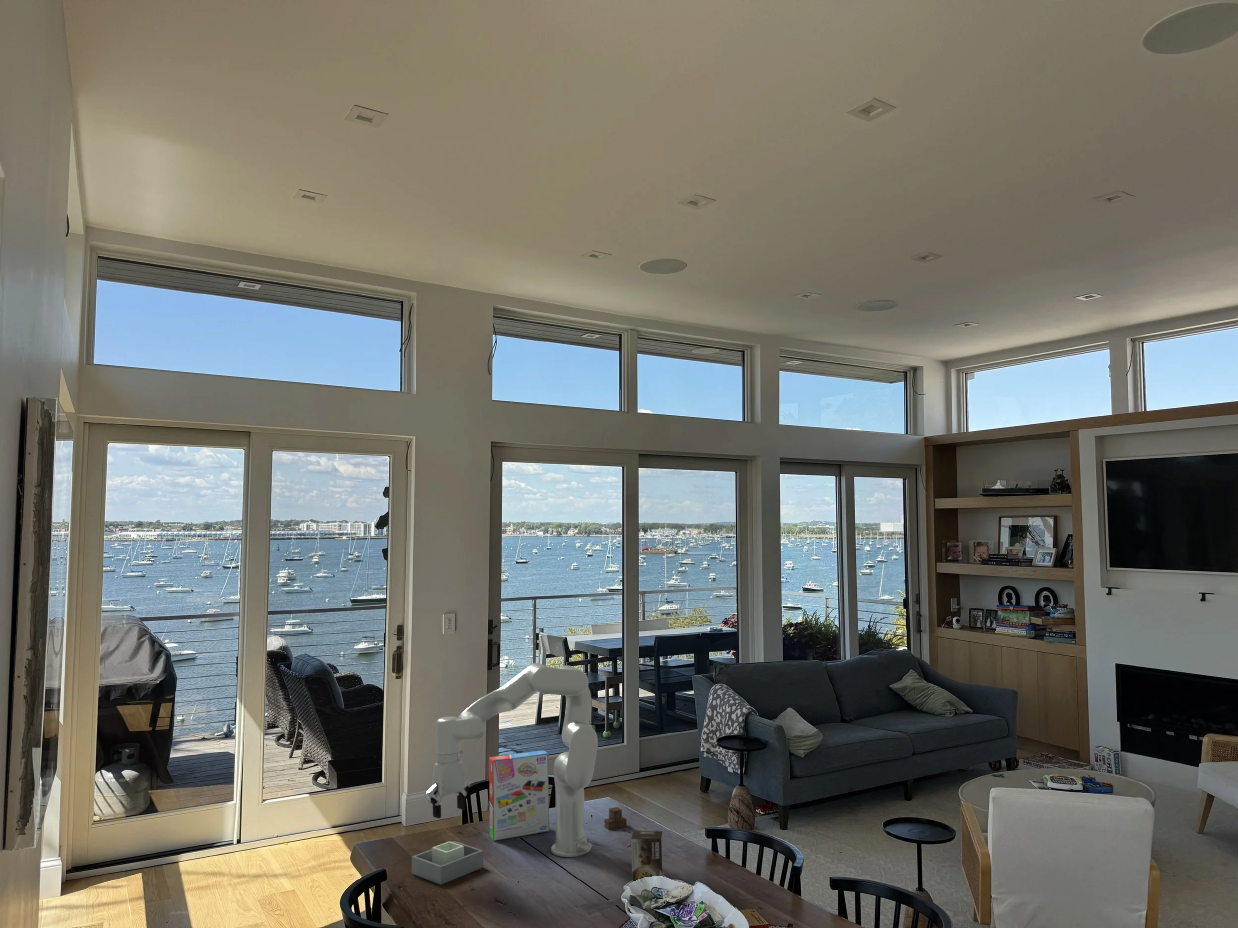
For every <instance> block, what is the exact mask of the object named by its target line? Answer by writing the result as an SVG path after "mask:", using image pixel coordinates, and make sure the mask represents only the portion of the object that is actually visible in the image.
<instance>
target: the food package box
mask: <svg viewBox="0 0 1238 928" xmlns="http://www.w3.org/2000/svg"><path fill="white" fill-rule="evenodd" d="M663 836H664V835H663V830H660V831H659V830H656V831H655V830H652V831H651V830H634V831H632V834H631V838H630V843H631V875H632V878H631V879H632V880H631V882H633V881H636V880H638V879H641V878H644V877H652V876H663V877H664V876H665V875H664V845H663V844H664V843H663V842H664V840H663ZM664 878H665V877H664Z"/></svg>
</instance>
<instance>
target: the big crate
mask: <svg viewBox="0 0 1238 928" xmlns="http://www.w3.org/2000/svg"><path fill="white" fill-rule="evenodd" d="M452 842H453V843H456V844H459V845H463V846H464V857H462V858H459V859H457V860H454V861H452V862H449V863H447V864H444V865H438V864H435V863H432V848H431V849H429V850H425V851H423V852H421V853H418V854H414V855H412V856H411V874H412V875H415V876H417V877H419V878H422V879H425V880H427V881H430V882H433V883H435V884H438V885H439V886H441V885H444V884H445V883H449V882H451V881H454V880H456V879H458V878H461V877H463V876H465V875H468V874H470V873H473V872H475V871H477V870H479V869H483V868H484V850H483V849H479V848H477V847H474V846H471V845H467V844H465V843H461V842H459V841H455V840H453V841H452Z"/></svg>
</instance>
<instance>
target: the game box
mask: <svg viewBox="0 0 1238 928" xmlns="http://www.w3.org/2000/svg"><path fill="white" fill-rule="evenodd" d="M488 777H489V779H488V782H489V784H488V785H489V787H488V794H489V795H488V797H489V798H488V799H489V801H488V803H489V805H488V807H489V808H488V809H489V811H488V812H489V813H488V814H489V821H488V822H489V823H488V824H489V825H488V826H489V837H490V839H491V840H492V841H494V842H495V841H498V840H499V841H500V840H506V839H513V838H517V837H518V838H519V837H525V836H529V835H535V834H539V833H540V834H541V833H545V832H550V807H549V806H550V803H549V801H550V800H549V796H550V795H549V753H548V752H547V751H545V750H544V749H542V750H536V751H527V752H518V753H510V754H504V755H503V754H502V755H495V756H490V757H488Z"/></svg>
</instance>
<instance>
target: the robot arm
mask: <svg viewBox="0 0 1238 928" xmlns="http://www.w3.org/2000/svg"><path fill="white" fill-rule="evenodd" d="M589 682H590V681H589V678H588V676H587V674H586V673H585V672H584V671H583V670H581V669H578V668H576V667H574V666H571V665H562V666H559V667H558V668H557V667H552V666H551V667H550V666H547V665H545V664H543V663H539V662H534V663H531V664H529V665H528V666H527V667H525V668H524V669H523V670H521V671H520V672H519V673H517V674H516V675H515V676H514V677H512V678H511V679H510V680H508V681H507V682H505V683H504V684H503V685H502V686H500V687H499V688H498V689H495V690H493V691H492V692H489V693H488V694H486V695H485V696H482V697H480V698H479V699H478V700H476V701H475V702H473V703H472V704H471V705H470V706H469V707H467V708H465V710H464V711H462V712H461V713H460V714H459V715H458V717H457V716H443V717H440V718H438V719H437V721H436V723H435V729H436V731H435V734H436V735H435V739H436V741H435V745H436V746H435V747H436V749H435V750H436V763H434V764H433V765H434V766H433V770H432V777H431V787H430V788H429V789H428V790H427V791H425V796H426V797H427V801H428V802H430V804H431V805H432V817H433V818H436V819H441V818H442V805H441V804H440V803H441V802H442V799H443V798H446V797H449V796H452V795H455V794H456V808H457V809H458V810H461V811H464V810H466V797H467V794H468V792H469V790H470V785H471V783H472V779H471V778H468V777H465V770H464V769H465V768H464V765H463V764H464V763H463V760H462V759H461V758H462V757H461V756H462V755H463V750H462V749H461V748H462V747H461V741H476V740H480V739H481V738H483V737H484V735H486V732H487V726H486V725H487V724H486V722H487V721H488V720H490V719H491V718H493V717H495V716H497V715H499V714H502V713H507V712H511V711H514V710H516V709H517V708H519V707H520V706H521V705H523V703H525V702H527V700H529V699H530V698H531V697H532V696H534V695H535V694H537V693H540V694H546V695H552V696H553V695H555V696H556V695H557V696H565V703H566V704H565V705H566V706H565V714H564V720H563V725H562V731H561V740H562V742H563V744H564V745H565V746H566V747H568V751H564V752H562V753H560V754H559V755H558V756H557V757H556V758H555V760H554V762H553V778H554V779H553V781H554V787H555V788H554V792H555V843H554V844H552V846H551V847H550V852H551V853H552V854H553V855H554V856H557V857H561V858H575V857H581V856H584V855H585V854H587V853H589V852H590V851H591V849H592V848H593V843H590V842H588V841H587V840H588V838H587V836H585V789H584V788H586V787H588V785H589V784H590V783H591V781H592V780H593V776H594V771H595V765H596V759H597V752H598V747H599V746H598V745H599V740H598V734H597V732H596V730H595V729H594V728H593V727H592V726H591V725H590V724H591V723H590V721H591V712H592V694H591V690H590V688H589Z"/></svg>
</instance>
